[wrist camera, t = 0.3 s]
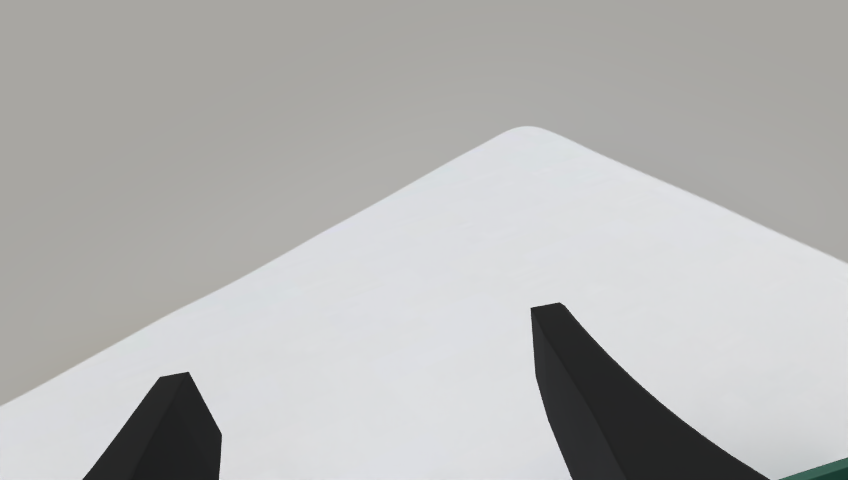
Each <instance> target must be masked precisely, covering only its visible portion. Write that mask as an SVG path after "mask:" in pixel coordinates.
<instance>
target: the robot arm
mask: <svg viewBox="0 0 848 480" xmlns="http://www.w3.org/2000/svg"><path fill="white" fill-rule="evenodd" d="M531 320H532V333H533V347H534V360H535V374H536V379H537V383H538V386H539V390H540V393H541V397H542V400H543V404H544V407H545V411H546V414H547V418H548V421H549V423H550V426H551V428H552V431H553V433H554V436H555V438H556V441H557V443H558V445H559V448H560V450H561V453H562V455H563V458H564V460H565V463H566V465H567V467H568V470H569V472H570V475H571V477H572V479H573V480H770V479H768V478H766V477H765V476H763V475H762V474H760V473H758V472H757V471H755V470H754V469H752V468H751V467H749V466H747V465H746V464H744V463H743V462H741V461H739V460H738V459H736V458H735V457H733V456H731V455H730V454H728V453H727V452H725V451H724V450H723V449H721V448H720V447H718V446H717V445H715V444H714V443H713V442H711V441H710V440H708V439H707V438H705V437H704V436H703V435H701V434H700V433H699V432H697V431H696V430H695V429H693V428H692V427H691V426H689V425H688V424H687V423H685V422H684V421H683V420H681V419H680V418H679V417H678V416H676V415H675V414H674V413H673V412H671V411H670V410H669V409H668V408H666V407H665V406H664V405H663V404H662V403H660V402H659V401H658V400H657V399H656V398H655V397H654V396H652V395H651V394H650V393H649V392H648V391H647V390H645V389H644V388H643V387H642V386H641V385H640V384H639V383H638V382H637V381H635V380H634V379H633V378H632V377H631V376H630V375H629V374H628V373H627V372H626V371H625V370H624V369H623V368H622V367H621V366H620V365H619V364H618V363H617V362H616V361H615V360H613V359H612V358H611V357H610V356H609V355H608V354H607V353H606V352H605V351H604V349H603V348H602V347H601V346H600V345H599V344H598V343H597V342H596V341H595V340H594V339H593V338H592V337H591V336H590V335H589V334H588V332H587V331H586V330H585V329H584V328H583V327H582V326H581V325H580V323H579V322H578V321H577V320H576V319H575V318H574V316H573V315H572V314H571V313H570V312H569V310H568V309H567V308H566V307H565V306H564V305H563V304H561V303H554V304H549V305H543V306H538V307H533V308H531ZM221 442H222V434H221V432H220V430H219V428H218V426H217V424H216V423H215V421H214V419H213V417H212V415H211V413H210V411H209V409H208V407H207V406H206V404H205V402H204V400H203V398H202V396H201V394H200V392H199V390H198V389H197V387H196V385H195V383H194V381H193V379H192V377H191V375H190V373H189V372H185V373H179V374H174V375H169V376H163V377H160V378H159V379H158V380H157V382H156V383H155V384H154V385H153V387H152V388H151V389H150V391H149V392H148V394H147V395H146V396H145V398H144V399H143V400H142V402H141V403H140V404H139V406H138V407H137V409H136V410H135V411H134V413H133V414H132V415H131V417H130V418H129V420H128V421H127V422H126V424H125V425H124V426H123V428H122V429H121V430H120V432H119V433H118V434H117V436H116V437H115V438H114V440H113V441H112V442H111V444H110V445H109V446H108V448H107V449H106V450H105V452H104V453H103V454H102V456H101V457H100V458H99V460H98V461H97V462H96V464H95V465H94V466H93V467H92V469H91V470H90V471H89V472H88V473H87V475H86V476H85V477H84V478H83V480H219V471H220V459H221Z"/></svg>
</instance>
